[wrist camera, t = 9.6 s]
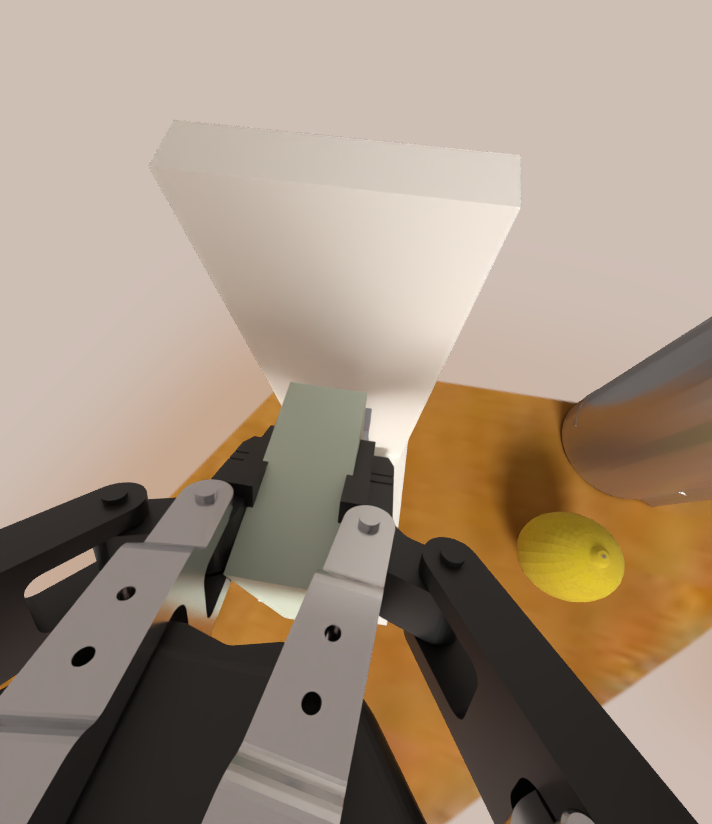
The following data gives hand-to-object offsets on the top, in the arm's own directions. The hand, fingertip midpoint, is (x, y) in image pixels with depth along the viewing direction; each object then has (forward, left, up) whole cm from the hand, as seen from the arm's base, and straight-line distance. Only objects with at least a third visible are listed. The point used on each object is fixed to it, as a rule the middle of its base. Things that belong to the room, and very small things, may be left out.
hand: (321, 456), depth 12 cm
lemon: (-14, -7, -17) cm, 23 cm away
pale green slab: (-2, +3, -8) cm, 9 cm away
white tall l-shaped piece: (0, +1, -17) cm, 17 cm away
